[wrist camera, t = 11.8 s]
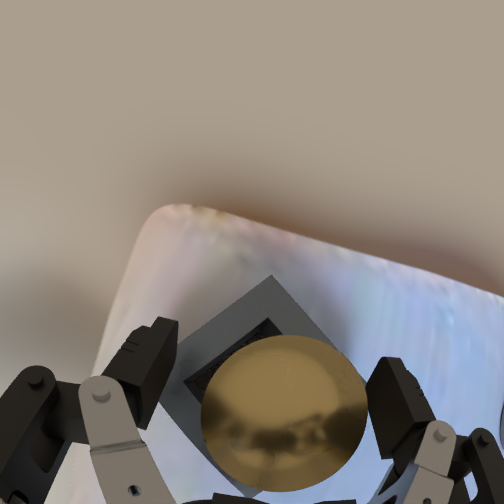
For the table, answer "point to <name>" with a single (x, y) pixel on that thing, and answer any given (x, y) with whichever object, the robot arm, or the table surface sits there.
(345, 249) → the table surface
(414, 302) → the table surface
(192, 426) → the box
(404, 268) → the table surface
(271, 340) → the brass flared peg
